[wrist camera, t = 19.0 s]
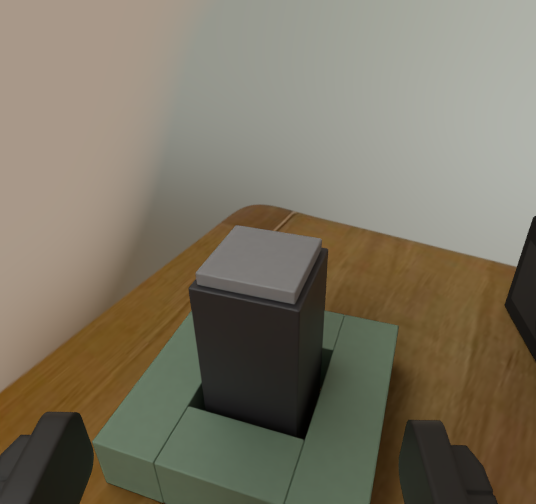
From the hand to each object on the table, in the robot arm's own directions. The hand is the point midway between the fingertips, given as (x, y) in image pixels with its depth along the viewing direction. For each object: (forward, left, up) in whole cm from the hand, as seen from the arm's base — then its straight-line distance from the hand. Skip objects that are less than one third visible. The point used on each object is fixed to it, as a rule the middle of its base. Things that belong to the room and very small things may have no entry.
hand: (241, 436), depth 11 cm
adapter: (-2, +8, -10) cm, 13 cm away
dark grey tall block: (-2, +8, -10) cm, 13 cm away
